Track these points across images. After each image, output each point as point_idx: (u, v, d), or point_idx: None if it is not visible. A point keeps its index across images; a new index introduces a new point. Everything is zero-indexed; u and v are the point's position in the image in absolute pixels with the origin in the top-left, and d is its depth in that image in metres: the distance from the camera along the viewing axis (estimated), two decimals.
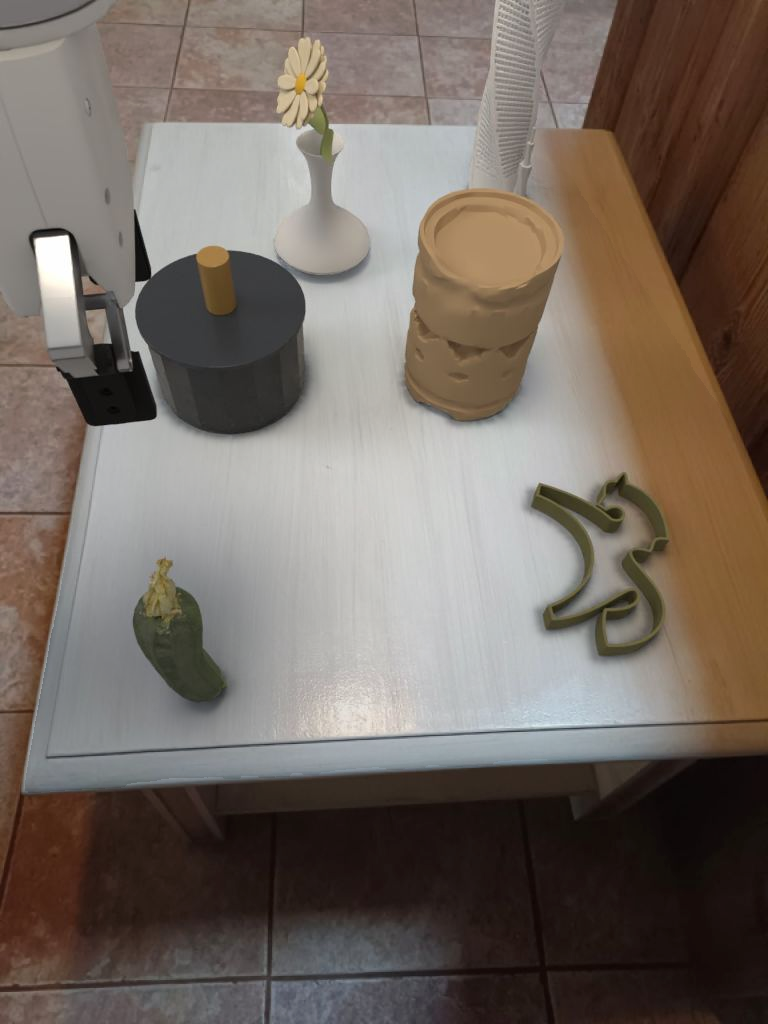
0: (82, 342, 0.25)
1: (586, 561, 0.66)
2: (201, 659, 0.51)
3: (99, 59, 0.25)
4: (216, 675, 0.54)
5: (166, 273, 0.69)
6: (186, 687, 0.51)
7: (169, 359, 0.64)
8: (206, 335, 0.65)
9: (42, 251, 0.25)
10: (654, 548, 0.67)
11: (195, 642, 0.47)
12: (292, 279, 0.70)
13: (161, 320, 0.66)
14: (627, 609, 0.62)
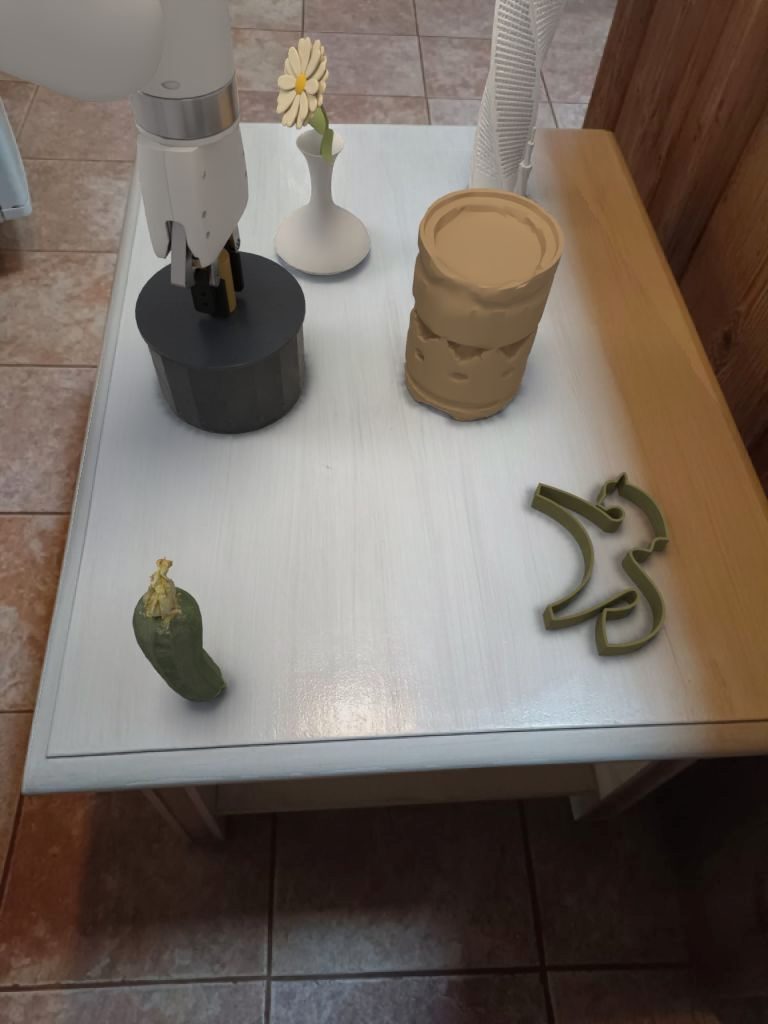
0: (185, 283, 0.57)
1: (586, 561, 0.66)
2: (201, 659, 0.51)
3: (223, 152, 0.54)
4: (216, 675, 0.54)
5: (166, 273, 0.69)
6: (186, 687, 0.51)
7: (169, 359, 0.64)
8: (206, 335, 0.65)
9: (174, 238, 0.55)
10: (654, 548, 0.67)
11: (195, 642, 0.47)
12: (292, 279, 0.70)
13: (161, 320, 0.66)
14: (627, 609, 0.62)
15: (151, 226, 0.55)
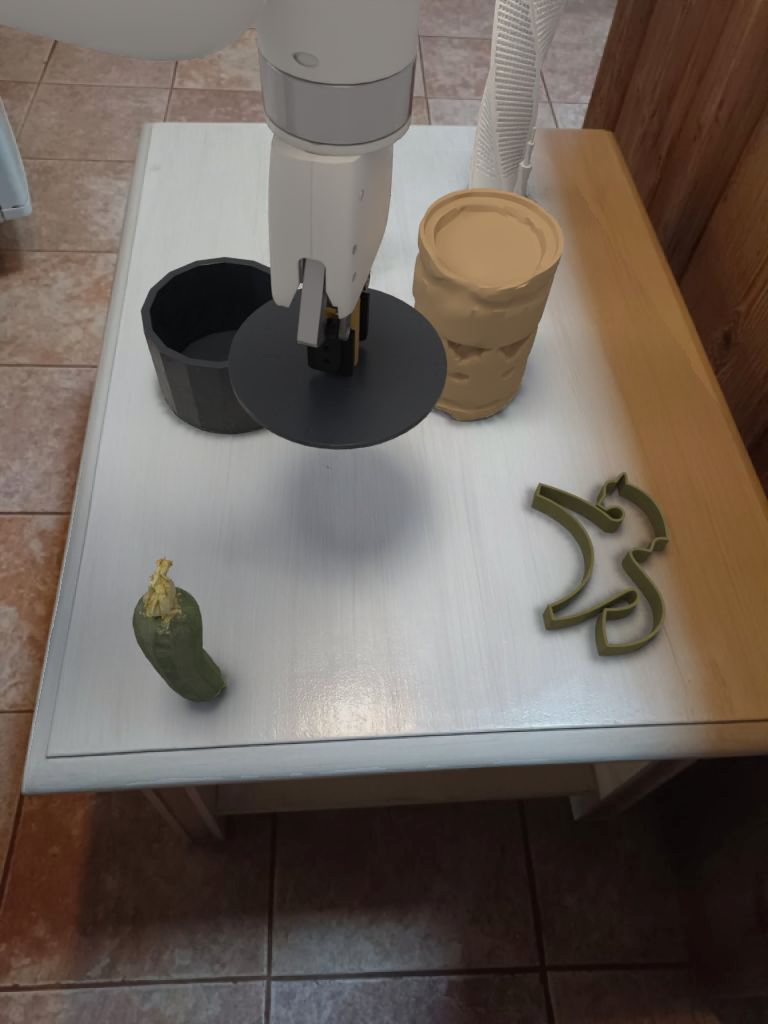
0: (317, 342, 0.42)
1: (586, 561, 0.66)
2: (201, 659, 0.51)
3: (382, 163, 0.38)
4: (216, 675, 0.54)
5: (263, 315, 0.53)
6: (186, 687, 0.51)
7: (279, 434, 0.48)
8: (324, 400, 0.49)
9: (307, 281, 0.40)
10: (654, 548, 0.67)
11: (195, 642, 0.47)
12: (425, 322, 0.54)
13: (263, 380, 0.50)
14: (627, 609, 0.62)
15: (275, 265, 0.40)
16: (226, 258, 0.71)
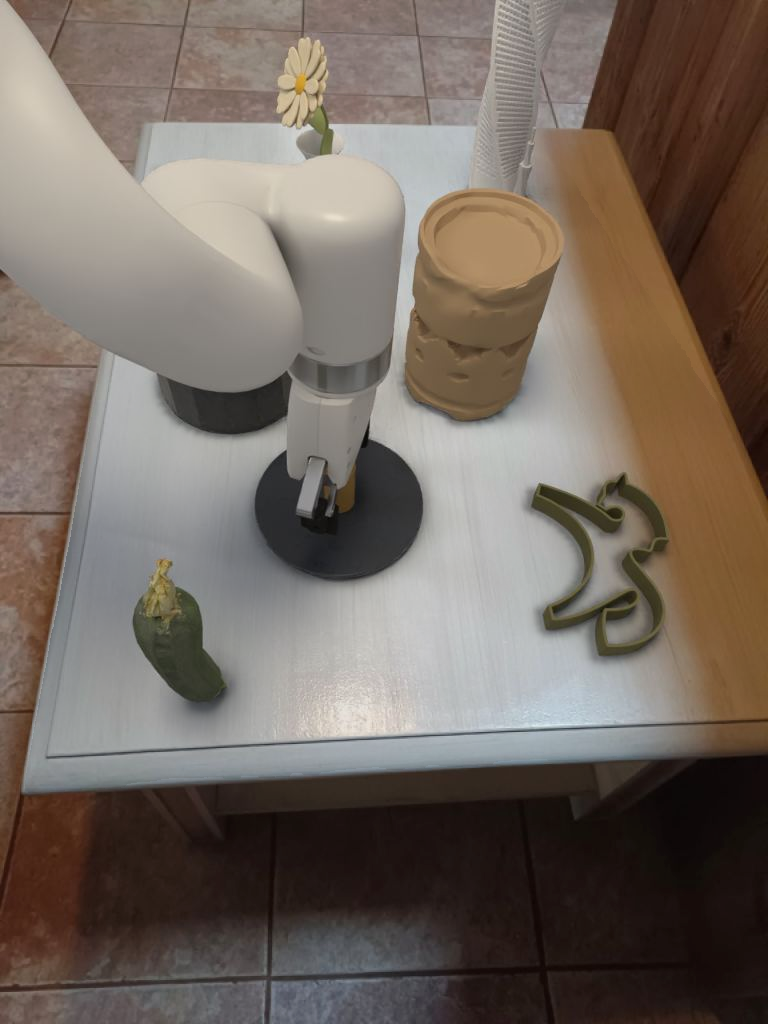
0: (312, 511, 0.53)
1: (586, 561, 0.66)
2: (201, 659, 0.51)
3: None
4: (216, 675, 0.54)
5: (281, 463, 0.69)
6: (186, 687, 0.51)
7: (294, 566, 0.63)
8: (328, 537, 0.65)
9: (311, 464, 0.53)
10: (654, 548, 0.67)
11: (195, 642, 0.47)
12: (406, 468, 0.69)
13: (282, 520, 0.66)
14: (627, 609, 0.62)
15: (291, 457, 0.54)
16: None
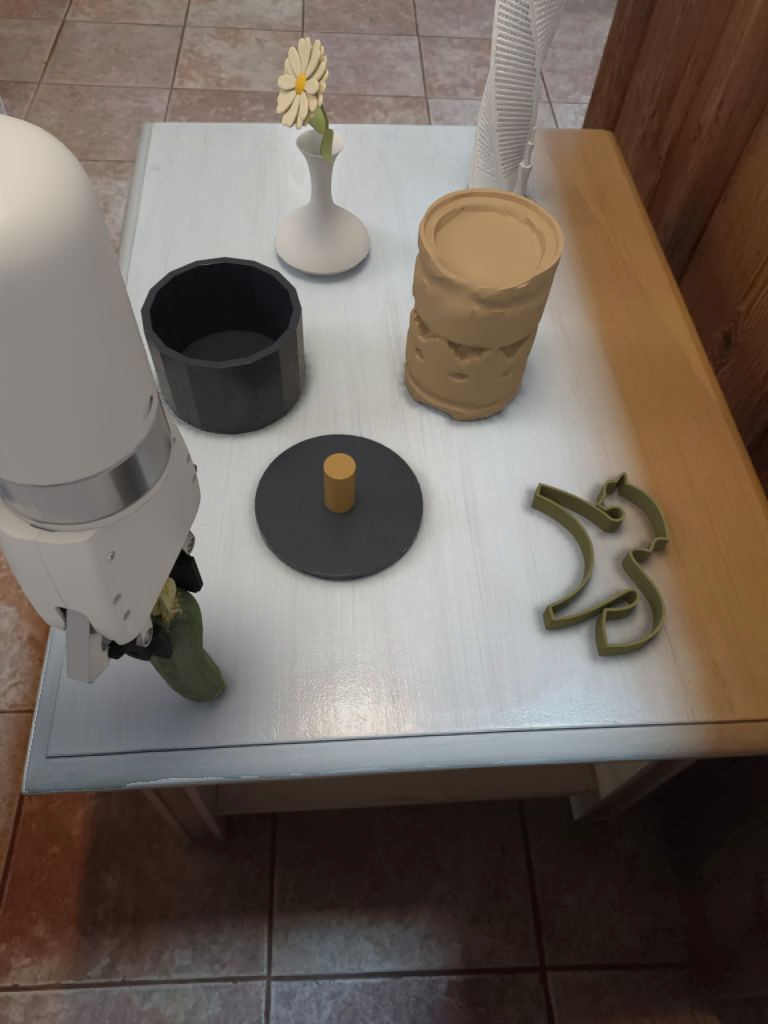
0: (90, 678, 0.36)
1: (586, 561, 0.66)
2: (201, 659, 0.51)
3: (148, 501, 0.33)
4: (216, 675, 0.54)
5: (281, 463, 0.69)
6: (186, 687, 0.51)
7: (294, 566, 0.63)
8: (328, 537, 0.65)
9: (71, 620, 0.34)
10: (654, 548, 0.67)
11: (195, 641, 0.47)
12: (406, 468, 0.69)
13: (282, 520, 0.66)
14: (627, 609, 0.62)
15: (34, 605, 0.34)
16: (226, 258, 0.71)
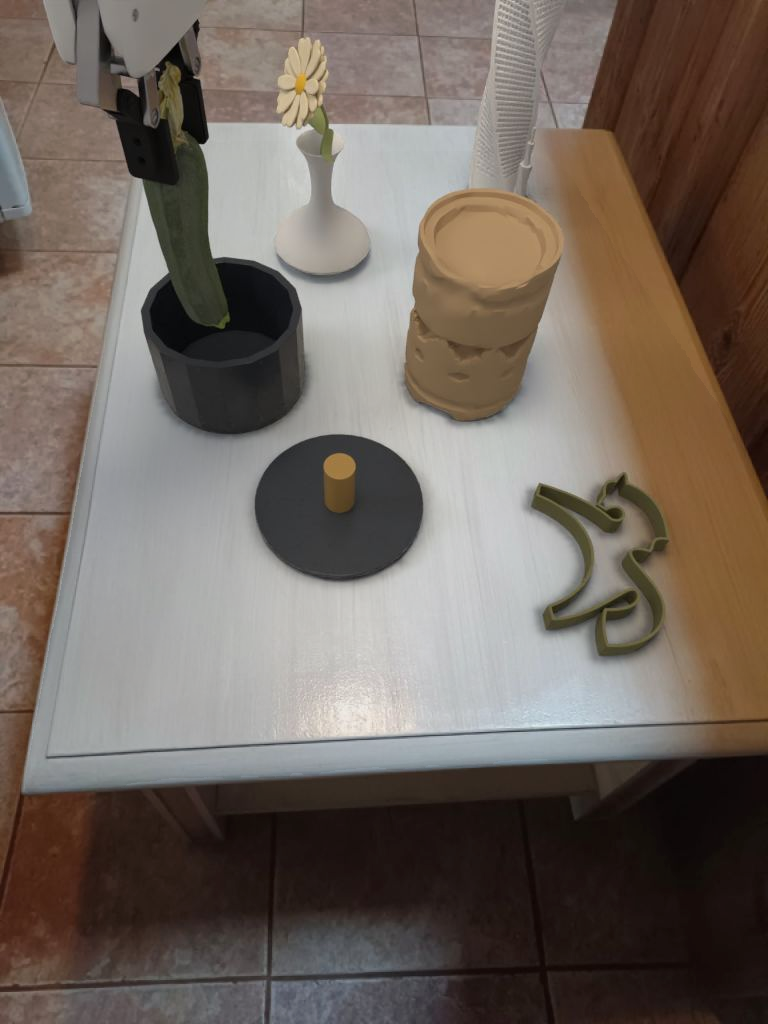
0: (99, 98, 0.37)
1: (586, 561, 0.66)
2: (206, 243, 0.52)
3: None
4: (220, 285, 0.55)
5: (281, 463, 0.69)
6: (191, 278, 0.53)
7: (294, 566, 0.63)
8: (328, 537, 0.65)
9: (81, 18, 0.36)
10: (654, 548, 0.67)
11: (201, 192, 0.48)
12: (406, 468, 0.69)
13: (282, 520, 0.66)
14: (627, 609, 0.62)
15: None
16: (226, 258, 0.71)
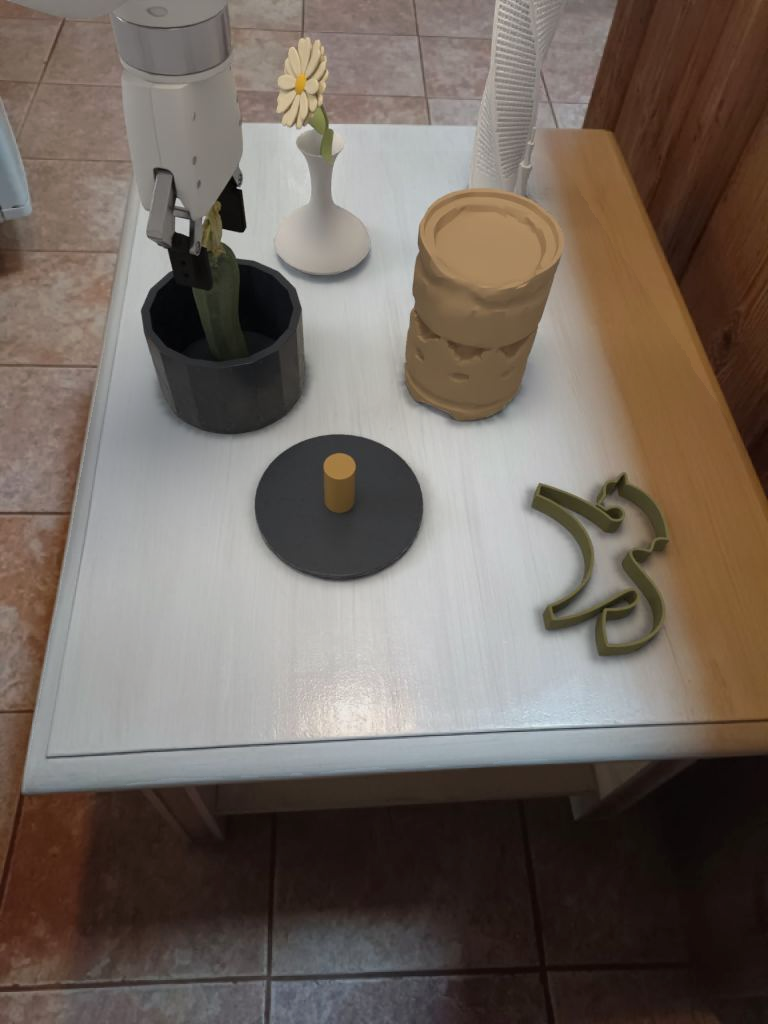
0: (162, 233, 0.52)
1: (586, 561, 0.66)
2: (236, 319, 0.68)
3: (215, 94, 0.50)
4: (246, 348, 0.71)
5: (281, 463, 0.69)
6: (225, 345, 0.68)
7: (294, 566, 0.63)
8: (328, 537, 0.65)
9: (158, 182, 0.51)
10: (654, 548, 0.67)
11: (234, 286, 0.64)
12: (406, 468, 0.69)
13: (282, 520, 0.66)
14: (627, 609, 0.62)
15: (137, 175, 0.51)
16: None
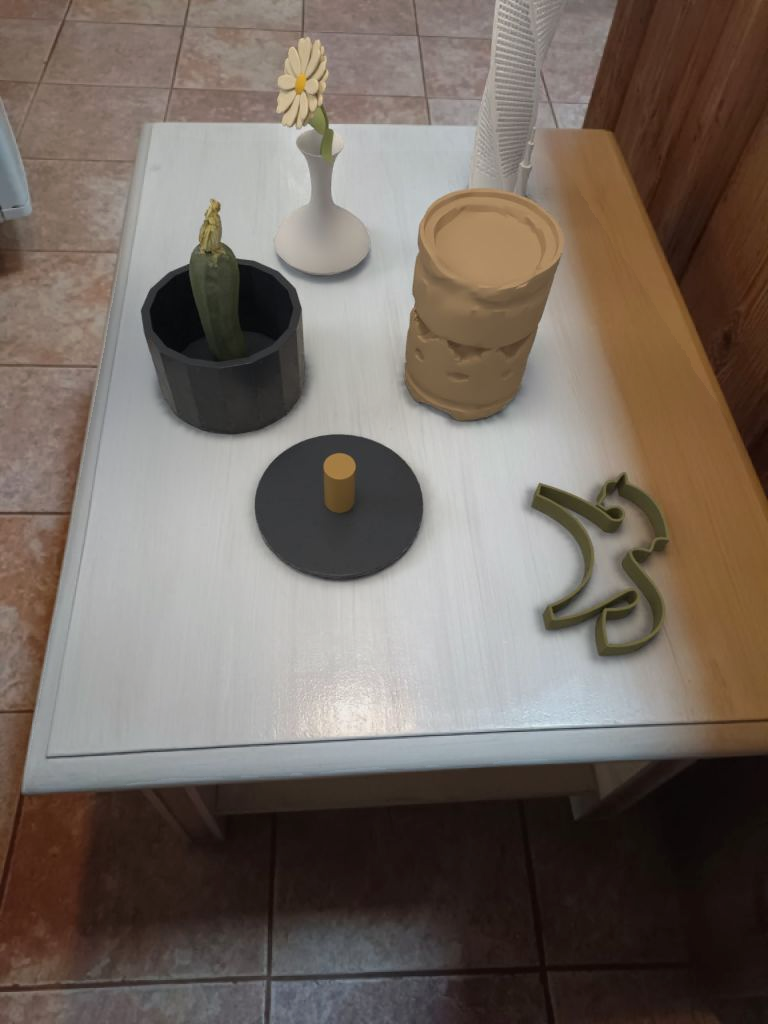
0: None
1: (586, 561, 0.66)
2: (236, 319, 0.68)
3: None
4: (246, 348, 0.71)
5: (281, 463, 0.69)
6: (225, 345, 0.68)
7: (294, 566, 0.63)
8: (328, 537, 0.65)
9: None
10: (654, 548, 0.67)
11: (234, 286, 0.64)
12: (406, 468, 0.69)
13: (282, 520, 0.66)
14: (627, 609, 0.62)
15: None
16: None
